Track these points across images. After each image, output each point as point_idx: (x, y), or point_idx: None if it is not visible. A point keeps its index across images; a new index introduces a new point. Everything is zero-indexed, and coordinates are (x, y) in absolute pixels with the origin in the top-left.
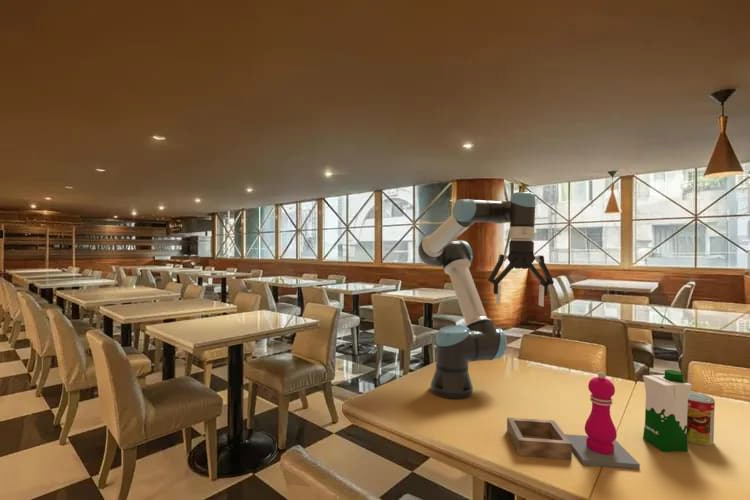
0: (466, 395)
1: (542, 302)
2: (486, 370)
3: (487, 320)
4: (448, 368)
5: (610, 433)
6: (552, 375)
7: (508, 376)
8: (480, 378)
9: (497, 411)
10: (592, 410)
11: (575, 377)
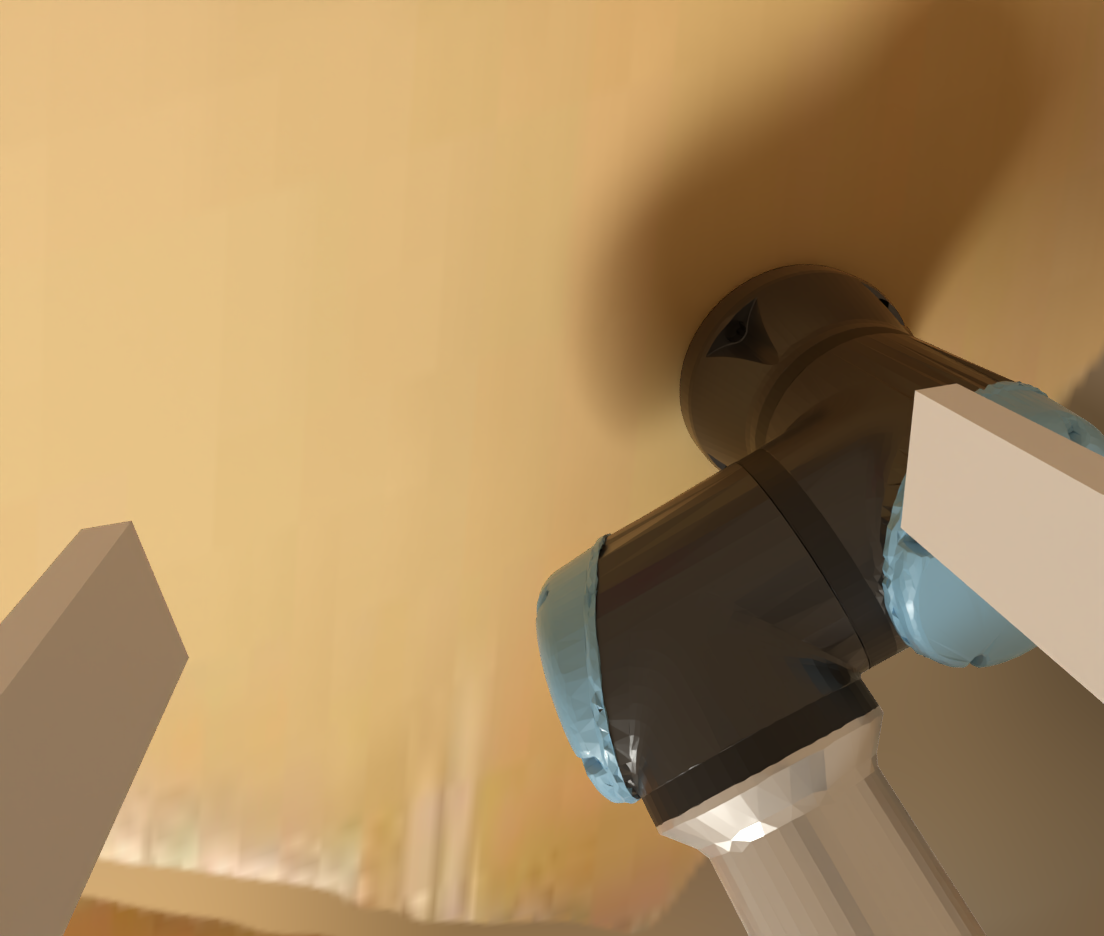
0: (724, 304)
1: (71, 570)
2: None
3: (738, 772)
4: (902, 334)
5: None
6: (240, 757)
7: (471, 669)
8: None
9: (570, 163)
10: None
11: None
